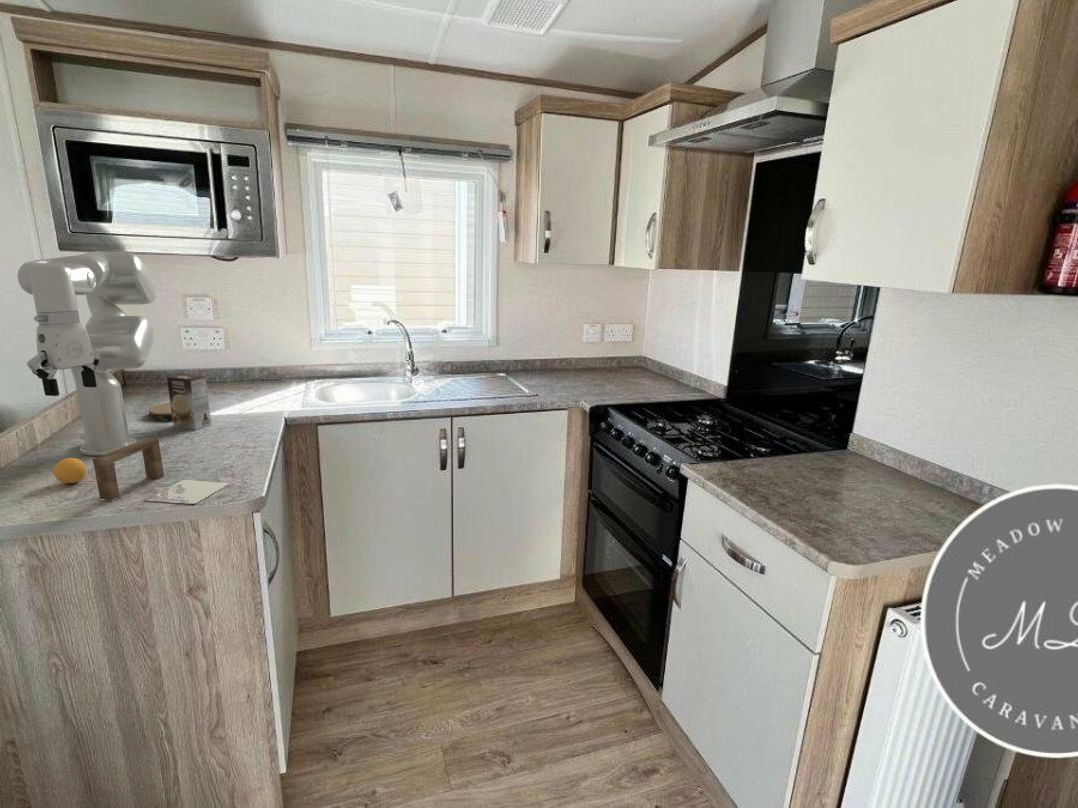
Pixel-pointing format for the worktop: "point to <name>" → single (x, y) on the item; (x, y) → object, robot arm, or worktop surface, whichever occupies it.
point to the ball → (70, 470)
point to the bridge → (106, 462)
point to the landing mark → (195, 490)
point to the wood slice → (161, 412)
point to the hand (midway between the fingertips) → (71, 391)
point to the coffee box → (189, 401)
